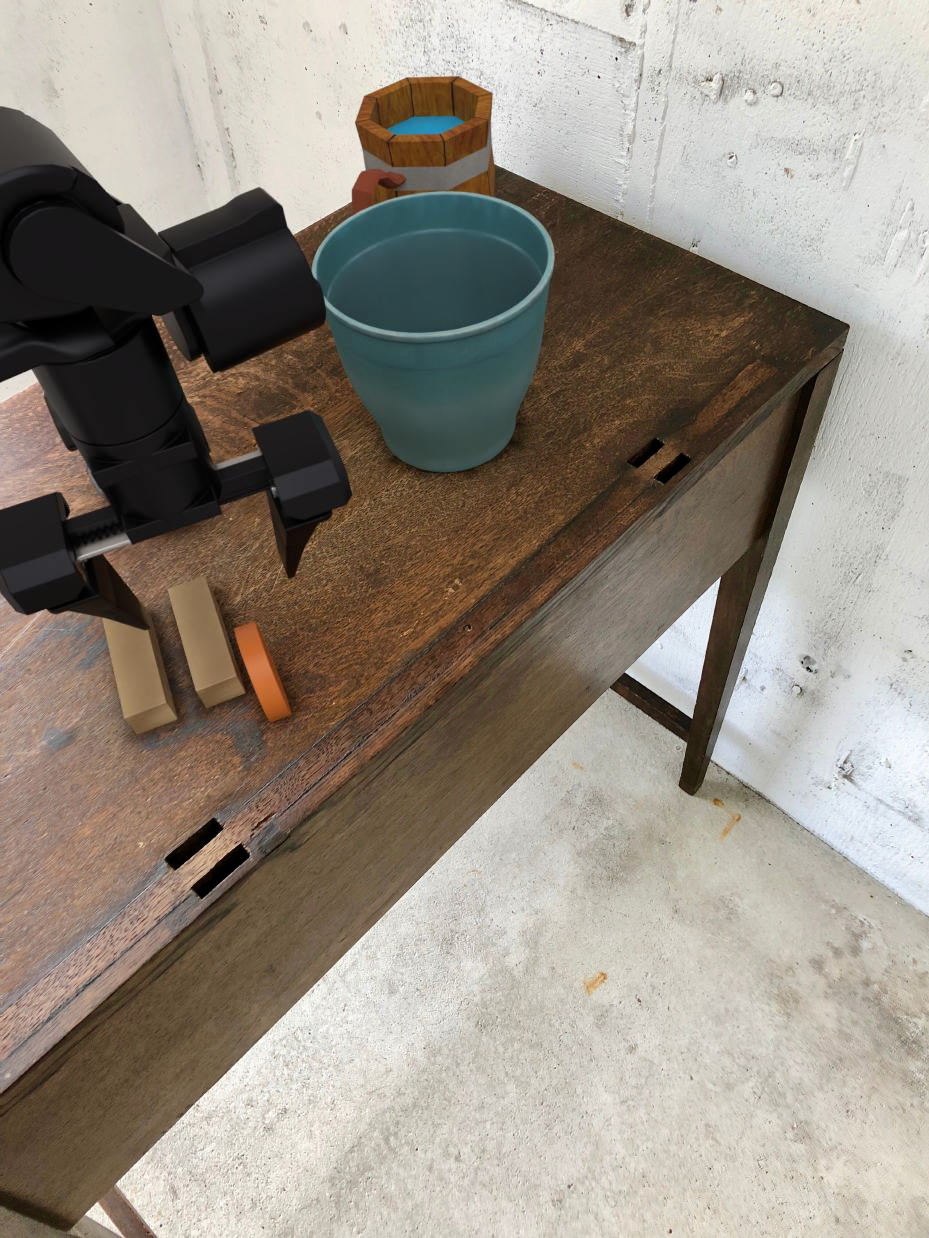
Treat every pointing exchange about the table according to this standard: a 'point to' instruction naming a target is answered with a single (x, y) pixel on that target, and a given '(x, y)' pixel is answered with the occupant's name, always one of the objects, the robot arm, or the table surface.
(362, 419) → the table surface
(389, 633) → the table surface
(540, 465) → the table surface
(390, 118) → the mug
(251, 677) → the disc
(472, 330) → the flower pot
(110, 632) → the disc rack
